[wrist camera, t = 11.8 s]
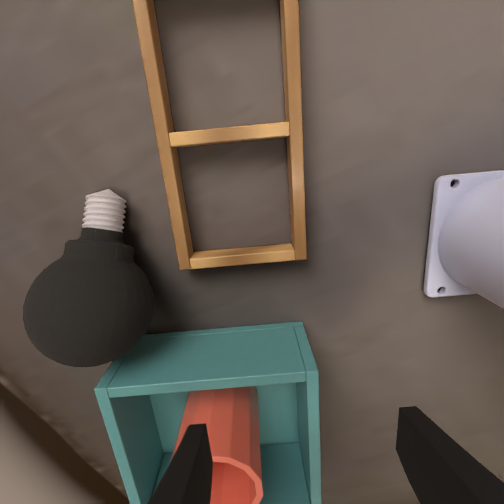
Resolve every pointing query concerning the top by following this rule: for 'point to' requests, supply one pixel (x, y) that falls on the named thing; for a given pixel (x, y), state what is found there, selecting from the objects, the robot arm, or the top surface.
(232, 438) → the cup
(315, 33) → the top surface
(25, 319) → the light bulb
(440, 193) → the robot arm
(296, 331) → the open storage box
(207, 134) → the frame
